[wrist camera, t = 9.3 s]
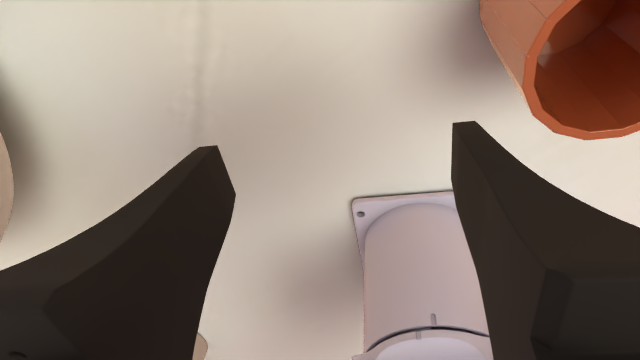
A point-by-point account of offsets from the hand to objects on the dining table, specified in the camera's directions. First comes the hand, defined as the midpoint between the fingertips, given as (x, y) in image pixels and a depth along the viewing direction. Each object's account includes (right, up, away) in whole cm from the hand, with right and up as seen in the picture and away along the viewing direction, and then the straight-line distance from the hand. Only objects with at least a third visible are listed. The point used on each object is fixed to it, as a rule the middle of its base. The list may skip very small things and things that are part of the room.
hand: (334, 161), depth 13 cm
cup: (+9, +7, +5) cm, 13 cm away
